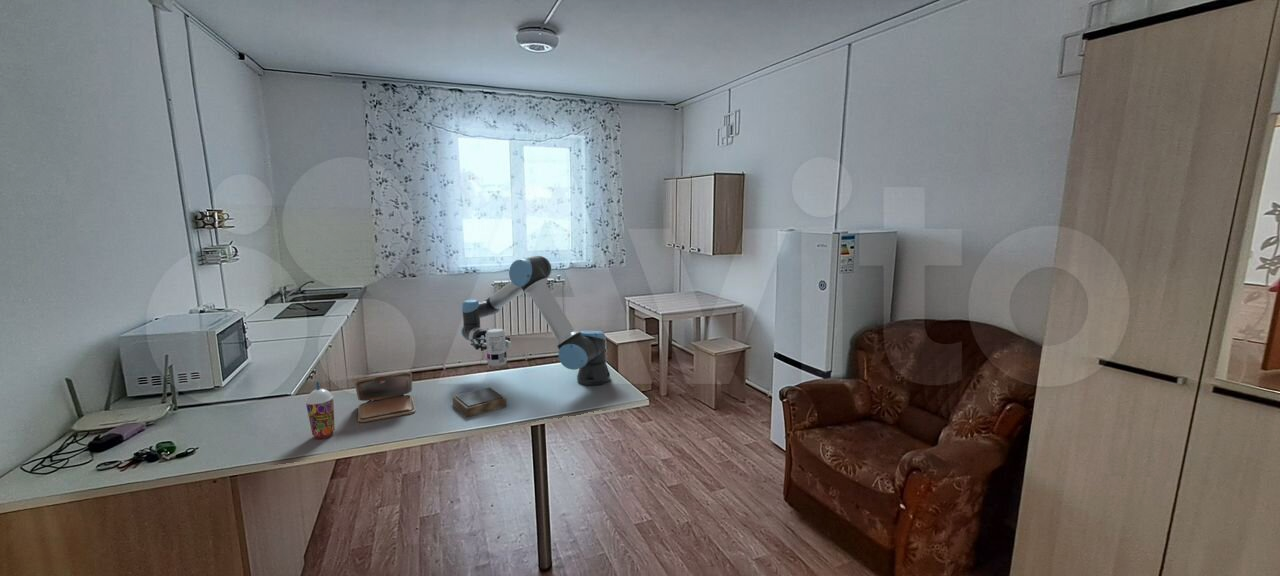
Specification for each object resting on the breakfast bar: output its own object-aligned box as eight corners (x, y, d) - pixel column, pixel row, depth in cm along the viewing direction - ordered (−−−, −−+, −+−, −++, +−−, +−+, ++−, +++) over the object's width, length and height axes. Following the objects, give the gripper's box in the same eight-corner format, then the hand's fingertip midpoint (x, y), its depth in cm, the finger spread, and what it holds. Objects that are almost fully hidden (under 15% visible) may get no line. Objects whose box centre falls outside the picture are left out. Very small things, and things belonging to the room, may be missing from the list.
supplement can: (483, 365, 217) (481, 331, 215) (495, 360, 225) (493, 327, 222) (499, 367, 214) (496, 333, 212) (510, 362, 222) (508, 328, 219)
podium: (490, 395, 216) (490, 386, 215) (506, 406, 204) (505, 397, 203) (453, 404, 206) (452, 395, 206) (467, 417, 194) (466, 407, 193)
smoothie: (317, 442, 174) (310, 387, 171) (305, 437, 179) (298, 383, 175) (342, 433, 181) (336, 380, 178) (330, 428, 186) (323, 376, 182)
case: (413, 396, 217) (409, 360, 214) (416, 413, 198) (412, 374, 196) (358, 406, 207) (354, 368, 205) (357, 425, 189) (352, 384, 186)
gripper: (502, 340, 239) (523, 351, 221) (458, 349, 226) (477, 360, 209) (501, 325, 238) (522, 334, 220) (456, 332, 225) (475, 343, 207)
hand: (500, 347), depth 214 cm, fingers closed on supplement can, 8 cm apart
